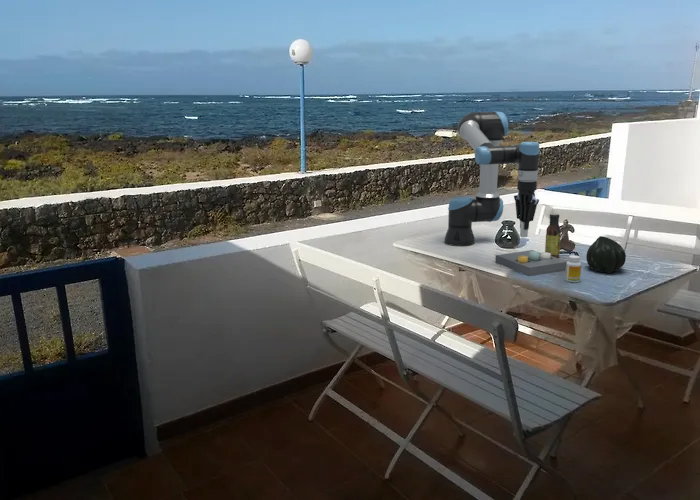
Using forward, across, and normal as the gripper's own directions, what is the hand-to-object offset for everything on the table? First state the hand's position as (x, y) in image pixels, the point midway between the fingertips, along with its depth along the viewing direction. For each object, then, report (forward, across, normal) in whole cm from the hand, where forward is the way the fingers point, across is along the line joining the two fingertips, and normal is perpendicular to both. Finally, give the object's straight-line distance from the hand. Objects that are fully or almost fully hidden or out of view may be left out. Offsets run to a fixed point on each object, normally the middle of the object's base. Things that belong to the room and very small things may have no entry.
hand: (523, 236), depth 221 cm
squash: (+14, +18, +28) cm, 36 cm away
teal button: (+11, +2, +5) cm, 12 cm away
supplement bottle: (+14, +23, +6) cm, 27 cm away
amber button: (+12, +2, -1) cm, 12 cm away
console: (+14, 0, +5) cm, 14 cm away
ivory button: (+12, +2, +11) cm, 16 cm away
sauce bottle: (+14, -7, +23) cm, 28 cm away
